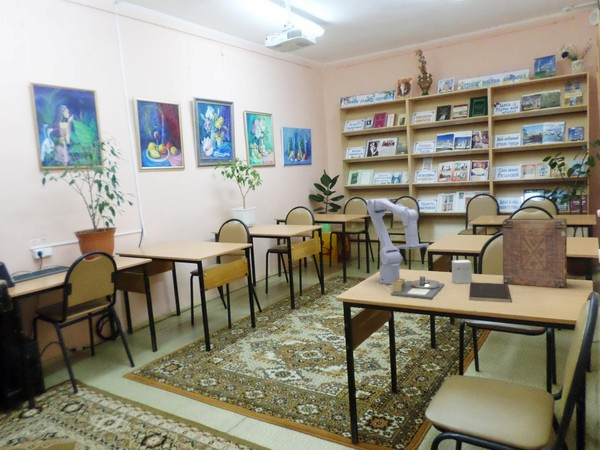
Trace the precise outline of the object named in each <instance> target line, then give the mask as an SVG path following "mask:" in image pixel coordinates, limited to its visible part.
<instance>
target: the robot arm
mask: <svg viewBox="0 0 600 450" xmlns="http://www.w3.org/2000/svg"><path fill="white" fill-rule="evenodd" d="M366 210H367V212H368V215H369V217H370V219H371V223H372V224H373V227H374V229H375V232H376V236H377V238H378V240H379V242H380V245H381V248H382V249H381V250H380V251H379V255H380V261H381V263H382V264H381V265H380V266H379V284H385V285H386V284H387V285H392V281H394V280H395V279H396V278H398V279H401V278H400V273H401V272H400V265H401V263H402V262H404V265H405V266H408V259H407V250H414V249H415V250H416V249H420V253H421V254H420V256H421V264H422V265H424V264H425V257H426V253H427V250H428V249H429V248H430V243H428V242H426V243H419V242H420V240H419V234H418V223H417V221H418V220H419V211H418V210H417V209H416V208H411V209H410V208H409V207H408V206H405V205H403V203H398V204H395V203H393V202H391V201H390V200H389V199H388V198H385V197H382V198H370V199H368V200H367V202H366ZM387 210H388V211H390V212H392V213H391V214H393V216H395V217H397V218H400V220H401V222H402V225H403V227H404V237H405V238H404V239H405V244H401V245H394V244H393V242H392V240H391V237H390V235H389V232H388V230H387V227H386V224H385V221H384V219H383V217H384V216H385V214H386V213H387Z"/></svg>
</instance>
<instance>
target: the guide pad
mask: <svg viewBox="0 0 600 450" xmlns="http://www.w3.org/2000/svg"><path fill="white" fill-rule="evenodd" d="M429 292H430V289H419V288H412V289H411V290H410V291H409V292H408V293H407V294H410V295H421V296H426V295H427V294H428V293H429Z"/></svg>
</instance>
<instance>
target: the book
mask: <svg viewBox="0 0 600 450" xmlns="http://www.w3.org/2000/svg"><path fill="white" fill-rule="evenodd" d="M567 221H568V219H567V218H505V219H504V220H502V272H503V273H502V279H503V280H502V281H503V282H502V284H508V285H512V286H515V285H516V286H528V287H539V288H540V287H541V288H551V289H553V288H554V289H563V290H564V289H567V286H568V285H567V279H568V278H567V276H568V275H567V267H568V266H567V257H568V255H567V254H568V253H567V250H568V249H567V247H568V246H567V244H568V243H567V229H568V228H567V224H568V222H567Z"/></svg>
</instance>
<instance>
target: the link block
mask: <svg viewBox="0 0 600 450" xmlns="http://www.w3.org/2000/svg"><path fill="white" fill-rule="evenodd" d="M405 282H406V279H405V278H400V279H398V278H396V279H395V280H394V281H392V284H391V285H392V292H396V293H402V292H403V291H404V290H405Z"/></svg>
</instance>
